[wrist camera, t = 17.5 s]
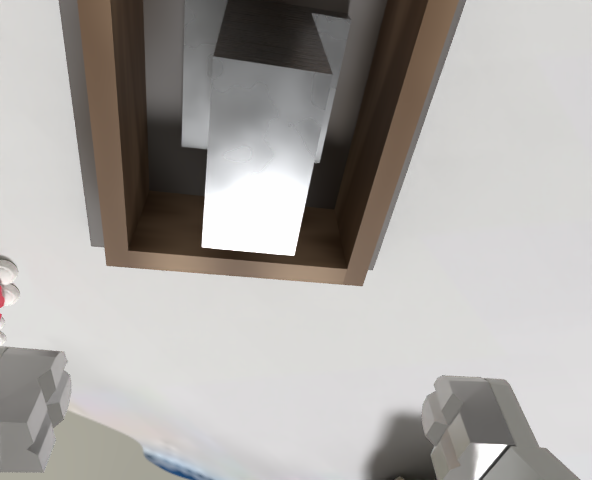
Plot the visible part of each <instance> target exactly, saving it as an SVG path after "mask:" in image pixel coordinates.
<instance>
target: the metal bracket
mask: <svg viewBox="0 0 592 480" xmlns="http://www.w3.org/2000/svg"><path fill="white" fill-rule="evenodd" d="M350 24H351V18H350V17H349V15H348V14H345V13H339V12H333V11H328V10H322V9H316V8H310V7H305V6H299V5H293V4H287V3H281V2H276V1H270V0H185V17H184V62H183V106H182V147H190V148H198V149H206V150H207V167H206V184H205V201H204V217H203V234H202V247H206V248H217V249H228V250H238V251H249V252H260V253H271V254H281V255H292V256H294V254H295V249H296V245H297V240H298V235H299V231H300V226H301V221H302V217H303V212H304V207H305V203H306V198H307V194H308V189H309V184H310V180H311V175H312V170H313V166H314V163H320V158H321V154H322V150H323V145H324V141H325V136H326V132H327V127H328V123H329V118H330V114H331V109H332V105H333V100H334V96H335V91H336V87H337V82H338V78H339V73H340V69H341V64H342V60H343V55H344V51H345V46H346V42H347V37H348V33H349V28H350Z"/></svg>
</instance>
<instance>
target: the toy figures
mask: <svg viewBox="0 0 592 480" xmlns="http://www.w3.org/2000/svg"><path fill="white" fill-rule="evenodd" d="M17 276H18V269H17V268H16V266H15V265H14V264H13V263H11V262H9V261H7V260H0V308H1V307H2V306H9V305H12V304H14V303H15V302H16V301H17V300H18V299H19V297H20V293H19V290H18V289H17V288H16V287H15V286H14V285H12V284H10V283H12V282H13V281H14V280H15V279H16V278H17ZM1 316H2V314H0V329H1V328H2V327H3V326H4V325H5V321H4V319H3V318H2V317H1ZM5 341H6V336H5V335H4V334H3V333H2V332H0V346H1V345H2V344H3V343H4V342H5Z"/></svg>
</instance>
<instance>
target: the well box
mask: <svg viewBox="0 0 592 480" xmlns="http://www.w3.org/2000/svg"><path fill="white" fill-rule="evenodd" d="M270 1H276V2H281V3H287V4H293V5H299V6H305V7H310V8H316V9H322V10H328V11H333V12H339V13H345V14H348V15H349V17H350V18H351V24H350V28H349V33H348V37H347V42H346V46H345V51H344V55H343V60H342V64H341V69H340V73H339V78H338V82H337V87H336V91H335V96H334V100H333V105H332V109H331V114H330V118H329V123H328V127H327V132H326V136H325V141H324V145H323V150H322V154H321V158H320V163H314V166H313V170H312V175H311V180H310V184H309V189H308V194H307V198H306V203H305V207H304V212H303V217H302V221H301V226H300V231H299V235H298V240H297V245H296V249H295V254H294V256H292V255H281V254H271V253H260V252H249V251H238V250H228V249H217V248H206V247H202V234H203V217H204V201H205V184H206V167H207V150H206V149H198V148H190V147H182V106H183V62H184V17H185V0H59V6H60V14H61V21H62V29H63V37H64V44H65V52H66V59H67V67H68V74H69V82H70V89H71V97H72V105H73V112H74V120H75V127H76V135H77V142H78V150H79V158H80V165H81V173H82V180H83V188H84V195H85V203H86V210H87V218H88V226H89V233H90V241H91V246H94V247H105V256H106V265H107V266H116V267H128V268H141V269H153V270H166V271H178V272H191V273H203V274H216V275H229V276H241V277H254V278H266V279H279V280H291V281H304V282H316V283H329V284H341V285H354V286H363V283H364V280H365V277H366V274H367V271H368V270H373V268H374V265H375V262H376V259H377V256H378V254H379V251H380V248H381V245H382V242H383V239H384V236H385V233H386V230H387V228H388V225H389V222H390V219H391V216H392V213H393V210H394V207H395V204H396V202H397V199H398V196H399V193H400V190H401V187H402V184H403V181H404V178H405V176H406V173H407V170H408V167H409V164H410V161H411V158H412V155H413V152H414V150H415V147H416V144H417V141H418V138H419V135H420V132H421V129H422V126H423V124H424V121H425V118H426V115H427V112H428V109H429V106H430V103H431V100H432V98H433V95H434V92H435V89H436V86H437V83H438V80H439V77H440V74H441V72H442V69H443V66H444V63H445V60H446V57H447V54H448V51H449V48H450V46H451V43H452V40H453V37H454V34H455V31H456V28H457V25H458V22H459V20H460V17H461V14H462V11H463V8H464V5H465V2H466V0H270Z"/></svg>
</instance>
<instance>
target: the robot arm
mask: <svg viewBox="0 0 592 480" xmlns="http://www.w3.org/2000/svg"><path fill="white" fill-rule="evenodd" d="M66 363H67V359H66V356H65V352H64V351H52V350H39V349H27V348H15V347H4V346H0V472H44V470H45V468H46V465H47V463H48V460H49V457H50V455H51V452H52V449H53V447H54V444H55V441H56V438H55V435H54V431H53V428H54V427H55V426H56V425H58V424H59V423H60V422H61V421H62V420H64V417H65V414H66V412H67V409H68V406H69V401H70V396H71V378H70V374H68V373H67V372H66V371H64V368H65V366H66ZM434 387H435V390H436V391H435V392H433V393H431V394H429V395H428V396H427V397H426V399H425V401H424V403H423V406H422V415H421V417H422V426H423V430H424V434H425V437H426V438H427V439H428V440H429V441H430V442H431V443H432V444H433V445H434V448H433V450H432V453H431V455H430V456H431V459H432V463H433V467H434V470H435V474H436V477H437V480H580V479H579V478H578V477H577V476H576V475H575V474H574V473H573V472H571V471H570V470H569V469H568V468H567V467H566V466H565V465H564V464H563V463H562V462H561V461H560V460H558V459H557V458H556V457H555V456H554V455H553V454H552V453H551V452H550V451H549V450H548V449H546V448H541V447H539V445H538V443H537V441H536V439H535V436H534V434H533V432H532V430H531V428H530V426H529V424H528V422H527V420H526V417H525V415H524V413H523V411H522V409H521V407H520V405H519V403H518V401H517V398H516V396H515V394H514V392H513V390H512V388H511V386H510V384H509V383H508V382H507V381H506V380H504V379H490V378H481V377H465V376H444V375H442V376H440V377H438V378H437V380H436V381H435V383H434Z"/></svg>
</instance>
